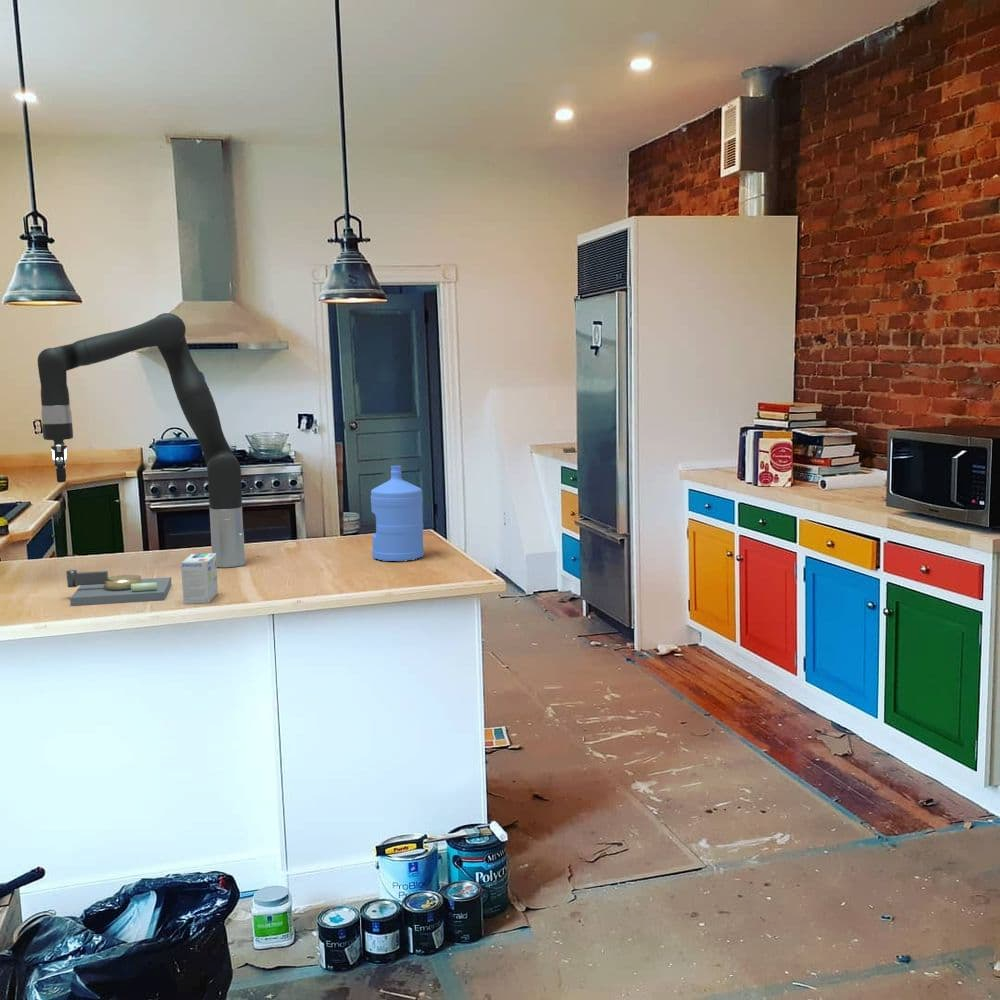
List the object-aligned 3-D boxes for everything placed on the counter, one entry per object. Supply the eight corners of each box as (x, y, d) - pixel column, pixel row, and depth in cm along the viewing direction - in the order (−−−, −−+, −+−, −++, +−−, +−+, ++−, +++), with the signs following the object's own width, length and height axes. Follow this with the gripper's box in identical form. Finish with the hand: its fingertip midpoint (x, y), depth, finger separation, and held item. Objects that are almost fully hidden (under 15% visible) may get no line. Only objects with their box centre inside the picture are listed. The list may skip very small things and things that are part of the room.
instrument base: (171, 584, 261) (170, 570, 260) (164, 599, 244) (163, 584, 243) (84, 589, 256) (83, 575, 256) (70, 605, 239) (69, 590, 238)
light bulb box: (192, 594, 250) (190, 553, 248) (219, 593, 250) (216, 552, 249) (182, 604, 239) (180, 561, 238) (210, 603, 240) (208, 560, 238)
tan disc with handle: (143, 581, 255) (142, 563, 254) (138, 588, 246) (137, 570, 246) (71, 585, 251) (70, 567, 250) (64, 593, 242) (62, 574, 242)
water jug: (434, 555, 297) (432, 464, 293) (402, 564, 284) (400, 469, 280) (394, 550, 305) (391, 462, 302) (361, 559, 292) (358, 467, 288)
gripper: (72, 422, 260) (76, 482, 262) (72, 420, 273) (76, 477, 275) (41, 423, 257) (46, 484, 259) (42, 421, 270) (47, 479, 272)
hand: (61, 480), depth 267 cm, fingers open, 8 cm apart
